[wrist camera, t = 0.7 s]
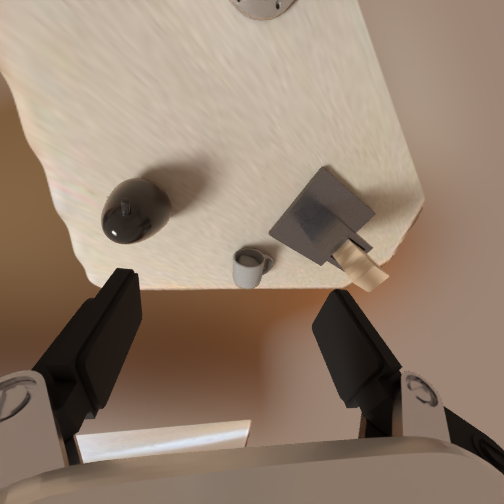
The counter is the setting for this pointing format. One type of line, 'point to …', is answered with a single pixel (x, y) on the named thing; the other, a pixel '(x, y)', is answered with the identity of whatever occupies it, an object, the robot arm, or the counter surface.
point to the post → (359, 266)
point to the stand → (323, 220)
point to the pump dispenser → (135, 211)
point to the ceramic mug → (249, 267)
